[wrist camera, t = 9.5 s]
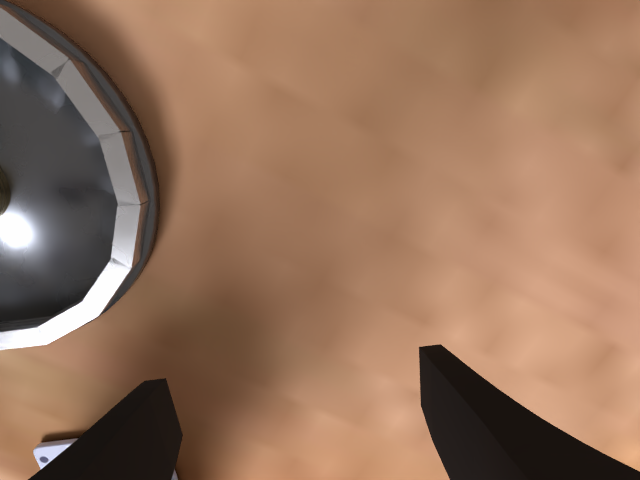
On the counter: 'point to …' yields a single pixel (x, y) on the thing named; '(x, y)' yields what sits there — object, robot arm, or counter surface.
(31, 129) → the round metal bowl
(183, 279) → the counter surface
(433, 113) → the counter surface
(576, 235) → the counter surface
